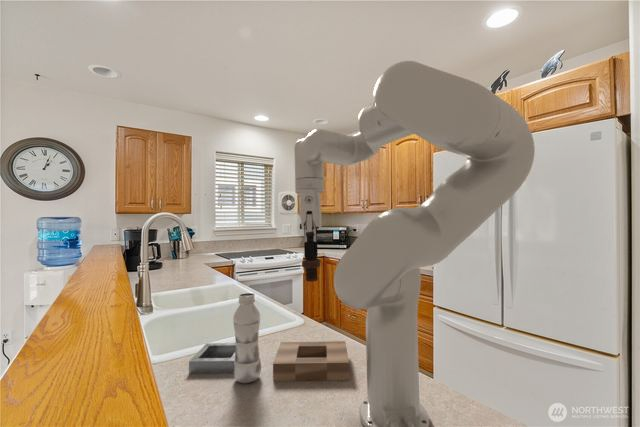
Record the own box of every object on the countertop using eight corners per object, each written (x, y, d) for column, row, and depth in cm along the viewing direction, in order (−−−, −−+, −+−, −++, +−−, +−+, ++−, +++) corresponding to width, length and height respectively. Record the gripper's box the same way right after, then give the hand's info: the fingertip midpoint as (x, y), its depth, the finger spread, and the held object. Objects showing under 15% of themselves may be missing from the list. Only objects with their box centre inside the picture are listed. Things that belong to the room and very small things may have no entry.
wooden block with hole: (349, 380, 65) (349, 362, 66) (273, 381, 66) (273, 363, 66) (345, 355, 77) (345, 341, 77) (280, 356, 78) (280, 342, 78)
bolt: (319, 283, 69) (317, 222, 69) (299, 283, 70) (297, 223, 70) (323, 278, 74) (321, 222, 75) (305, 278, 75) (303, 223, 76)
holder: (234, 373, 69) (234, 360, 69) (189, 373, 69) (189, 361, 70) (246, 353, 80) (246, 342, 80) (206, 354, 80) (206, 343, 80)
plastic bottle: (243, 391, 62) (242, 300, 63) (227, 379, 66) (227, 295, 67) (267, 378, 67) (266, 294, 67) (251, 369, 71) (250, 290, 72)
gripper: (323, 181, 65) (326, 260, 64) (323, 190, 81) (325, 253, 80) (291, 182, 65) (293, 261, 64) (298, 191, 81) (299, 254, 81)
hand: (311, 256), depth 72 cm, fingers closed on bolt, 3 cm apart
